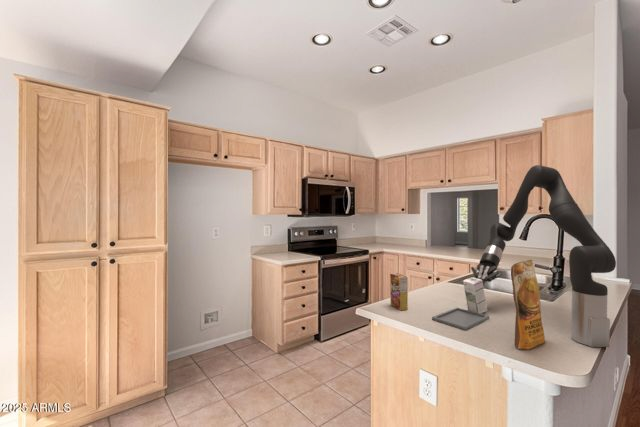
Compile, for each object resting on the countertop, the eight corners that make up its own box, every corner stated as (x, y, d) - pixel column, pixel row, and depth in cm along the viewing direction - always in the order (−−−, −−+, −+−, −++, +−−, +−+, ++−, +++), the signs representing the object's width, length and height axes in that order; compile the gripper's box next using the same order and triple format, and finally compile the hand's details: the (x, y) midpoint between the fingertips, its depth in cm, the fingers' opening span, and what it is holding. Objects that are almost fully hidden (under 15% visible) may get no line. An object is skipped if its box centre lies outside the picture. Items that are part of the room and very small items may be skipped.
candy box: (389, 304, 145) (389, 273, 144) (397, 303, 146) (397, 272, 146) (399, 310, 136) (399, 277, 136) (408, 309, 137) (408, 276, 137)
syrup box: (488, 310, 133) (482, 279, 132) (478, 315, 131) (473, 283, 130) (477, 306, 138) (472, 276, 137) (467, 310, 136) (462, 280, 135)
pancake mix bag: (502, 345, 102) (502, 262, 101) (530, 333, 111) (531, 258, 111) (523, 353, 96) (524, 266, 95) (551, 340, 106) (552, 260, 105)
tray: (456, 310, 137) (456, 307, 137) (489, 318, 126) (489, 316, 126) (432, 319, 125) (432, 316, 125) (465, 330, 114) (465, 327, 114)
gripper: (474, 250, 146) (461, 279, 139) (504, 253, 136) (491, 284, 128) (479, 260, 149) (467, 288, 142) (509, 264, 139) (497, 295, 132)
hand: (478, 286), depth 135 cm, fingers closed
